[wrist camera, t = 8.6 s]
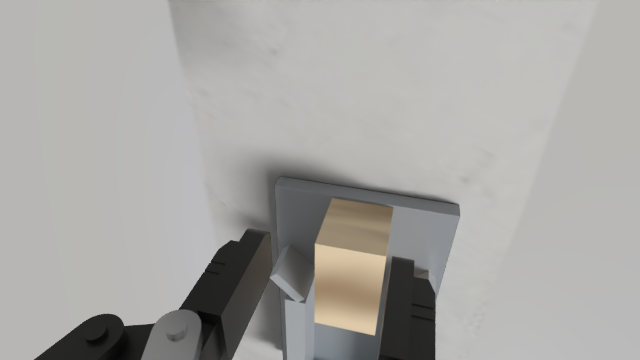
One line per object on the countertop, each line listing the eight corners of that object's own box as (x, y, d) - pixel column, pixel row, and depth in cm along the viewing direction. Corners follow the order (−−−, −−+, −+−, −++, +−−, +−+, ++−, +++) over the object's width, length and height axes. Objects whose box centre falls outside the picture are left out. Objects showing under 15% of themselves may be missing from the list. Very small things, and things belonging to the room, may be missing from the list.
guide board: (280, 176, 27) (258, 212, 24) (459, 204, 25) (462, 249, 22) (287, 352, 39) (272, 394, 36) (409, 383, 37) (406, 430, 33)
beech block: (332, 197, 26) (314, 243, 22) (393, 207, 25) (386, 256, 21) (329, 272, 30) (314, 322, 26) (382, 283, 29) (374, 335, 25)
